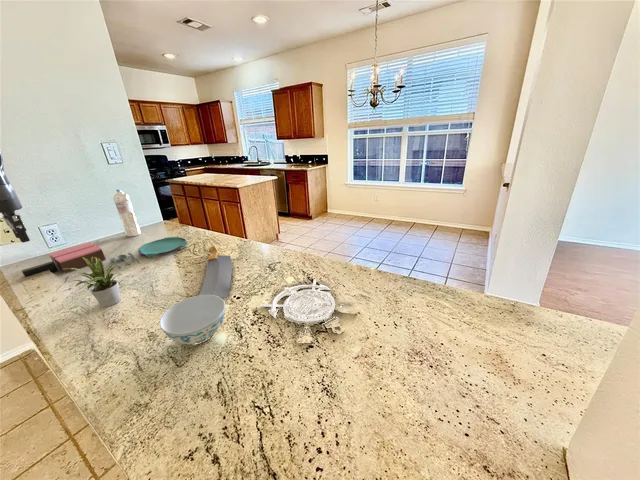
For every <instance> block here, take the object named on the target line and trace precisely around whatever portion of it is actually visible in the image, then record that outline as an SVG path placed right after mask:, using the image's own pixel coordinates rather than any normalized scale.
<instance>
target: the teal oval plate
mask: <svg viewBox="0 0 640 480" xmlns="http://www.w3.org/2000/svg"><path fill="white" fill-rule="evenodd" d="M187 244H188V242H187V240H186V238H183V237H179V236H167V237H163V238H161V239H160V238H159V239H156V240H154V241H150V242H146V243H144V244H142V245H141V246H140V247H139V248H138V249H137V252H138V254H139V255H141V256H145V257H147V258H149V259H154V258H155V256H161V255H165V254H168V253H171V252H172V253H173V252H174V251H177V250H179V249H181V248H184V247H186V246H187ZM127 254H128V255H129V256H130V257H131V260H134V261H136V263H137V264H140V261H139V260H138V259H137V257H136V256H135V255H134V254H132V253H131V252H128V253H127ZM116 258H117V259H115V257H112V258H109V262H111V261H112V263H111V264H113V263H114V262H115V261H116V262H115V263H114V265H115V266H117V267H116V268H118V269H119V270H120V269H122V267H121V266H120V265H119V264H118V261H124V262H125V263H126V264H127V265H128V266H130V265H131V262H129V261H128V260H127V255H126V254H119V255H117V257H116ZM112 259H113V260H112ZM117 260H118V261H117Z"/></svg>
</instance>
